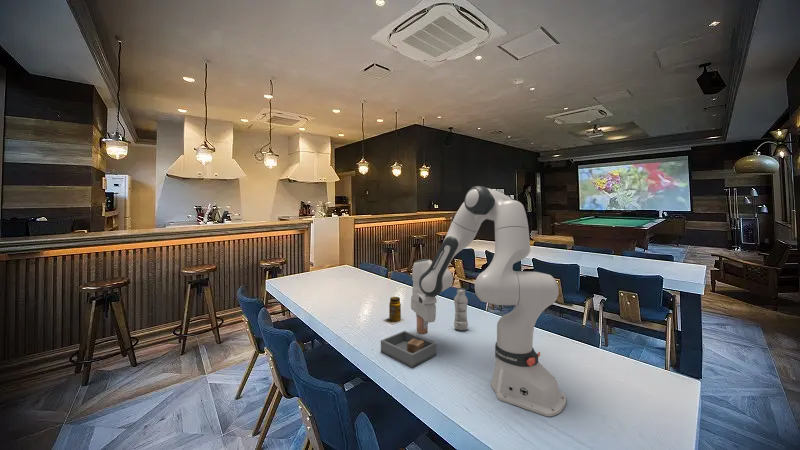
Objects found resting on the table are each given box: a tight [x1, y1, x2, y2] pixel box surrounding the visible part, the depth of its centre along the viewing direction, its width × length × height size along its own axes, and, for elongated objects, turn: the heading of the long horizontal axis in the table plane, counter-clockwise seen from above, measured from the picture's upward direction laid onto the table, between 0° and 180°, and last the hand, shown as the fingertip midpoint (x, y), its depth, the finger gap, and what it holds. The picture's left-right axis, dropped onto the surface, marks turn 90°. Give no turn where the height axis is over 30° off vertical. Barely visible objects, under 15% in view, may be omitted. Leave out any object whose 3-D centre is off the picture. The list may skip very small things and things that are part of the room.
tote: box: [380, 330, 437, 369], centre depth 125 cm, size 18×14×5 cm
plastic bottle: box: [453, 287, 469, 331], centre depth 149 cm, size 6×7×20 cm
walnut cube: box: [407, 339, 424, 353], centre depth 123 cm, size 5×5×5 cm
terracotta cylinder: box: [416, 316, 429, 335], centre depth 138 cm, size 5×5×7 cm
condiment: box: [383, 296, 404, 325], centre depth 162 cm, size 7×8×12 cm
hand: (422, 325), depth 138 cm, fingers closed on terracotta cylinder, 5 cm apart
